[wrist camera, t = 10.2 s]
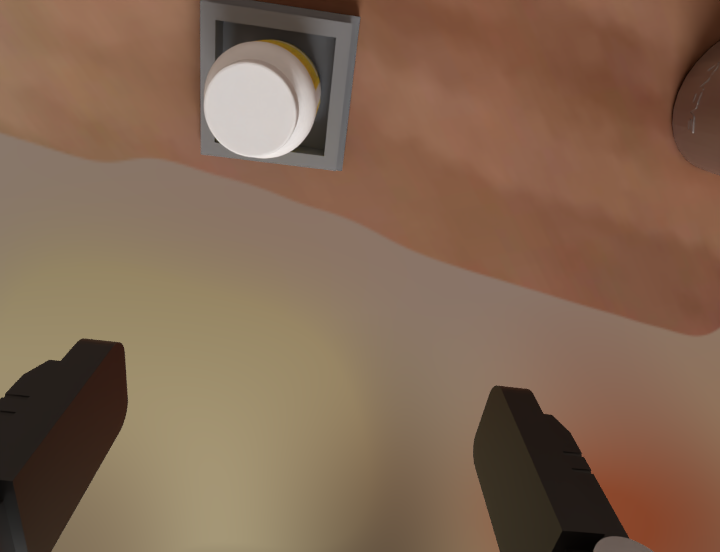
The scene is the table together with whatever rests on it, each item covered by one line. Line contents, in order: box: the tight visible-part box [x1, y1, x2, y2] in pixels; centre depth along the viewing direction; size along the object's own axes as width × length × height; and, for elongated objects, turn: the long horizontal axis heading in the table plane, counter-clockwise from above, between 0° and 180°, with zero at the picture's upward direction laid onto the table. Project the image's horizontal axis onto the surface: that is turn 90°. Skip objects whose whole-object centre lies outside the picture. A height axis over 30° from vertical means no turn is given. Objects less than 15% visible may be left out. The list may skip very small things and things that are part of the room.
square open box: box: [200, 0, 360, 171], centre depth 29 cm, size 9×9×3 cm
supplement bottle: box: [204, 39, 321, 158], centre depth 25 cm, size 5×5×10 cm
